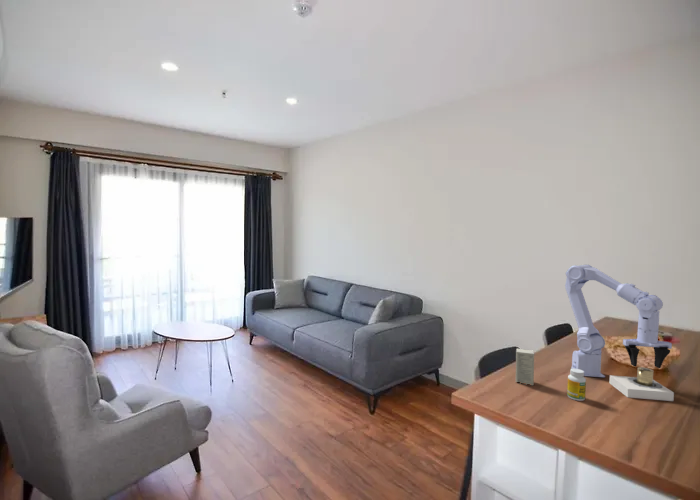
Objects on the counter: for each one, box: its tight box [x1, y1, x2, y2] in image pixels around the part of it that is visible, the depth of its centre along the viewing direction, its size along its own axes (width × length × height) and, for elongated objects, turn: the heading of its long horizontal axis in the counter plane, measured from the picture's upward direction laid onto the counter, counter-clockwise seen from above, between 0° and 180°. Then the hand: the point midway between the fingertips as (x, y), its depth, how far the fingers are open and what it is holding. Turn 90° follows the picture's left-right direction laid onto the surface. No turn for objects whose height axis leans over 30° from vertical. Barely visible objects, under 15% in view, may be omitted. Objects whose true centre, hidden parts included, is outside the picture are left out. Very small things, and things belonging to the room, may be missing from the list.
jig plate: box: [609, 374, 675, 402], centre depth 131 cm, size 14×12×3 cm
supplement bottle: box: [566, 368, 587, 402], centre depth 125 cm, size 5×5×10 cm
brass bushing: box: [636, 366, 654, 387], centre depth 131 cm, size 4×4×8 cm
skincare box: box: [515, 348, 535, 386], centre depth 138 cm, size 6×4×12 cm
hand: (645, 366), depth 131 cm, fingers open, 7 cm apart
